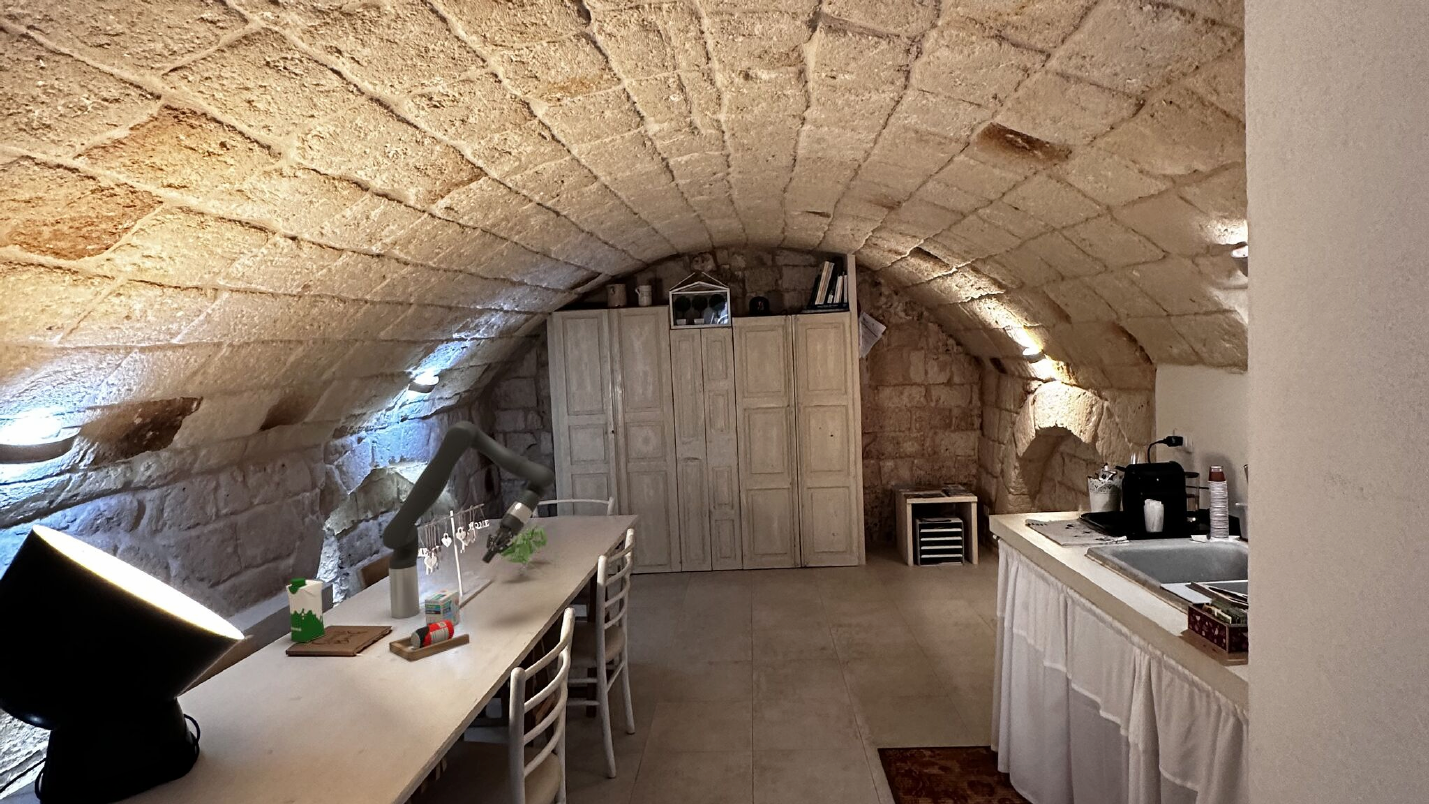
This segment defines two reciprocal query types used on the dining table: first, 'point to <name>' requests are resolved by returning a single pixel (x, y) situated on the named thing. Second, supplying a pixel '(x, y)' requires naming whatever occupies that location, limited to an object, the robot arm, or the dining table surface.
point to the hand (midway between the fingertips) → (485, 561)
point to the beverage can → (432, 634)
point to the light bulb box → (442, 607)
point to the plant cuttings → (526, 548)
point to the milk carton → (305, 609)
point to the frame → (412, 655)
